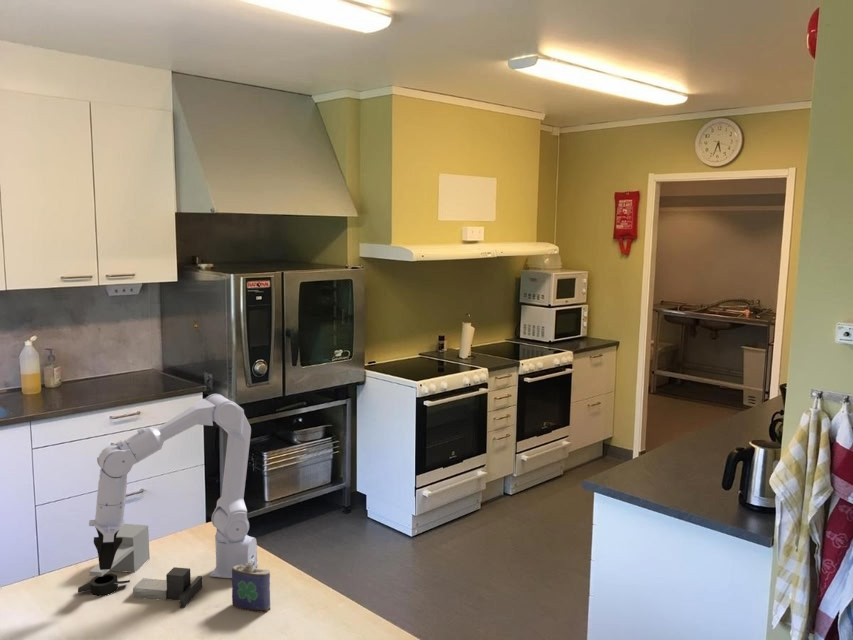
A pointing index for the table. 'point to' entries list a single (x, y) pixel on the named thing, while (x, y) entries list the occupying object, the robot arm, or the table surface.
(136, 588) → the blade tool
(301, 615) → the table surface
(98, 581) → the black ring with tabs
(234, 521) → the robot arm
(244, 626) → the table surface
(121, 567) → the grey cube mallet
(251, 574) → the flask
